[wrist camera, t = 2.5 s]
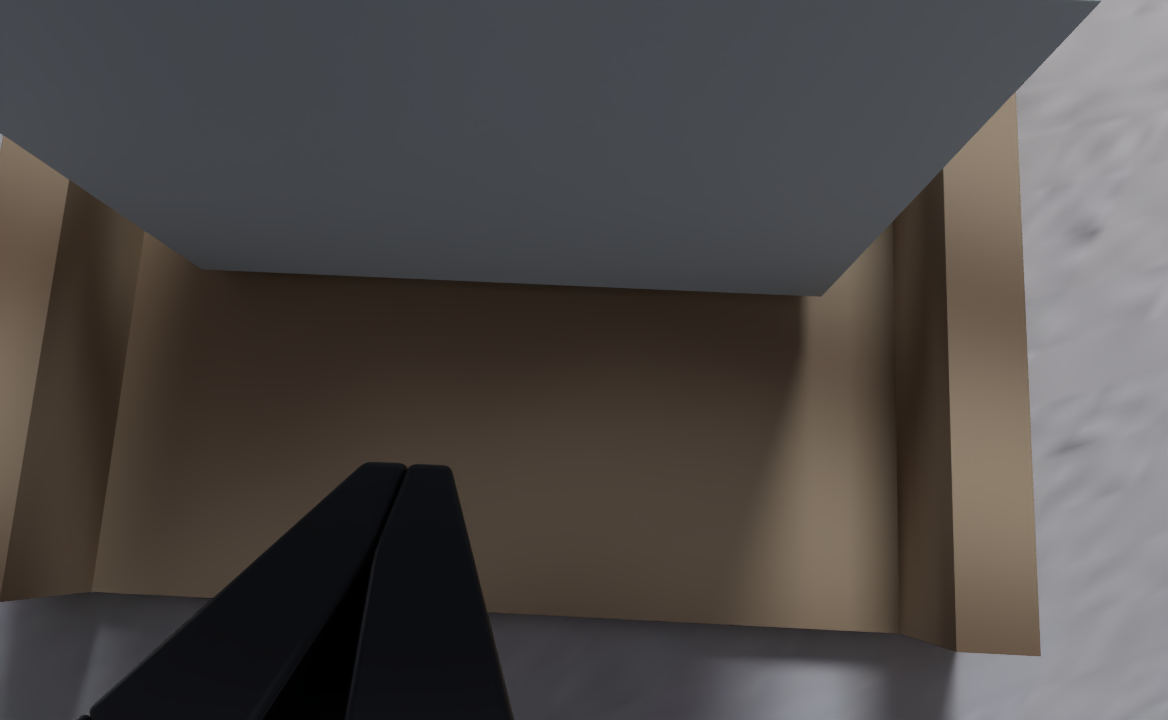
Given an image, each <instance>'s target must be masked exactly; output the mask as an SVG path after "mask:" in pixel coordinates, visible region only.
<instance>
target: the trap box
mask: <svg viewBox="0 0 1168 720" xmlns="http://www.w3.org/2000/svg"><path fill="white" fill-rule="evenodd" d="M366 462H391V463H402V464H404V465H405V466H406V467H407V468H409V467H410V466H411V465H413V464H431V465H446V466H449V467H450V468H451V470H452V472H453V475H454V479H455V484H456V488H457V492H458V496H459V500H460V504H461V508H462V512H463V516H464V520H465V524H466V528H467V532H468V536H469V540H470V544H471V548H472V552H473V556H474V560H475V564H476V568H477V572H478V576H479V580H480V584H481V588H482V592H483V596H484V600H485V604H486V609H487V612H492V613H511V614H531V615H550V616H570V617H589V618H608V619H628V620H647V621H666V622H686V623H705V624H724V625H744V626H763V627H783V628H802V629H821V630H841V631H860V632H879V633H899V634H903V635H906V636H909V637H912V638H915V639H918V640H921V641H924V642H928V643H931V644H934V645H937V646H940V647H943V648H946V649H949V650H952V651H956V652H969V653H989V654H1008V655H1027V656H1041V652H1040V630H1039V607H1038V585H1037V562H1036V539H1035V517H1034V494H1033V471H1032V449H1031V426H1030V404H1029V381H1028V358H1027V336H1026V313H1025V290H1024V268H1023V245H1022V223H1021V200H1020V177H1019V155H1018V132H1017V110H1016V92H1015V93H1014V94H1013V95H1012V96H1011V97H1010V98H1009V99H1008V100H1007V101H1006V102H1005V103H1004V104H1003V105H1002V106H1001V108H1000V109H999V110H998V111H997V112H996V113H995V114H994V115H993V116H992V117H991V118H990V119H989V120H988V121H987V122H986V123H985V124H984V125H983V127H982V128H981V129H980V130H979V131H978V132H977V133H976V134H975V135H974V136H973V137H972V138H971V139H970V140H969V141H968V142H967V143H966V145H965V146H964V147H963V148H962V149H961V150H960V151H959V152H958V153H957V154H956V155H955V156H954V157H953V158H952V159H951V160H950V161H949V162H948V164H947V165H946V166H945V167H944V168H943V169H942V170H941V171H940V172H939V173H938V174H937V175H936V176H935V177H934V178H933V179H932V180H931V181H930V183H929V184H928V185H927V186H926V187H925V188H924V189H923V190H922V191H921V192H920V193H919V194H918V195H917V196H916V197H915V198H914V199H913V200H912V202H911V203H910V204H909V205H908V206H907V207H906V208H905V209H904V210H903V211H902V212H901V213H900V214H899V215H898V216H897V217H896V218H895V219H894V221H893V222H892V223H891V224H890V225H889V226H888V227H887V228H886V229H885V230H884V231H883V232H882V233H881V234H880V235H879V236H878V237H877V239H876V240H875V241H874V242H873V243H872V244H871V245H870V246H869V247H868V248H867V249H866V250H865V251H864V252H863V253H862V254H861V255H860V256H859V258H858V259H857V260H856V261H855V262H854V263H853V264H852V265H851V266H850V267H849V268H848V269H847V270H846V271H845V272H844V273H843V274H842V275H841V277H840V278H839V279H838V280H837V281H836V282H835V283H834V284H833V285H832V286H831V287H830V288H829V289H828V290H827V291H826V292H825V293H824V294H823V296H822V297H816V296H793V295H771V294H748V293H725V292H703V291H680V290H657V289H634V288H612V287H589V286H566V285H544V284H521V283H498V282H476V281H453V280H430V279H407V278H385V277H362V276H339V275H317V274H294V273H271V272H248V271H226V270H203V269H200V268H199V267H197V266H196V265H194V264H193V263H191V262H190V261H188V260H187V259H186V258H184V257H183V256H181V255H180V254H178V253H177V252H175V251H174V250H172V249H171V248H169V247H168V246H166V245H165V244H163V243H162V242H160V241H159V240H157V239H156V238H155V237H153V236H152V235H150V234H149V233H147V232H146V231H144V230H143V229H141V228H140V227H138V226H137V225H135V224H134V223H132V222H131V221H129V220H128V219H126V218H125V217H124V216H122V215H121V214H119V213H118V212H116V211H115V210H113V209H112V208H110V207H109V206H107V205H106V204H104V203H103V202H101V201H100V200H98V199H97V198H95V197H94V196H92V195H91V194H90V193H88V192H87V191H85V190H84V189H82V188H81V187H79V186H78V185H76V184H75V183H73V182H72V181H70V180H69V179H67V178H66V177H64V176H63V175H61V174H60V173H59V172H57V171H56V170H54V169H53V168H51V167H50V166H48V165H47V164H45V163H44V162H42V161H41V160H39V159H38V158H36V157H35V156H33V155H32V154H30V153H29V152H28V151H26V150H25V149H23V148H22V147H20V146H19V145H17V144H16V143H14V142H13V141H11V140H10V139H8V138H7V137H5V136H4V135H3V139H2V145H1V150H0V602H4V601H13V600H22V599H31V598H40V597H49V596H58V595H67V594H76V593H85V592H105V593H124V594H144V595H163V596H182V597H202V598H213V597H214V596H216V595H217V594H218V593H219V592H220V591H221V590H222V589H223V588H225V587H226V586H227V585H228V584H229V583H230V582H231V581H232V580H233V579H235V578H236V577H237V576H238V575H239V574H240V573H241V572H242V571H243V570H245V569H246V568H247V567H248V566H249V565H250V564H251V563H252V562H253V561H255V560H256V559H257V558H258V557H259V556H260V555H261V554H262V553H264V552H265V551H266V550H267V549H268V548H269V547H270V546H271V545H272V544H274V543H275V542H276V541H277V540H278V539H279V538H280V537H281V536H282V535H284V534H285V533H286V532H287V531H288V530H289V529H290V528H291V527H292V526H294V525H295V524H296V523H297V522H298V521H299V520H300V519H301V518H303V517H304V516H305V515H306V514H307V513H308V512H309V511H310V510H311V509H313V508H314V507H315V506H316V505H317V504H318V503H319V502H320V501H321V500H323V499H324V498H325V497H326V496H327V495H328V494H329V493H330V492H332V491H333V490H334V489H335V488H336V487H337V486H338V485H339V484H340V483H342V482H343V481H344V480H345V479H346V478H347V477H348V476H349V475H350V474H352V473H353V472H354V471H355V470H356V469H357V468H358V467H359V466H361V465H362V464H364V463H366Z"/></svg>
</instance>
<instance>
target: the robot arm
mask: <svg viewBox="0 0 1168 720" xmlns="http://www.w3.org/2000/svg"><path fill="white" fill-rule="evenodd" d="M77 720H514V717H513V713H512V709H511V705H510V701H509V697H508V693H507V689H506V685H505V681H504V677H503V673H502V669H501V665H500V661H499V657H498V653H497V649H496V645H495V641H494V637H493V633H492V629H491V625H490V621H489V617H488V613H487V609H486V604H485V600H484V596H483V592H482V588H481V584H480V580H479V576H478V572H477V568H476V564H475V560H474V556H473V552H472V548H471V544H470V540H469V536H468V532H467V528H466V524H465V520H464V516H463V512H462V508H461V504H460V500H459V496H458V492H457V488H456V484H455V479H454V475H453V472H452V470H451V468H450V467H449V466H446V465H431V464H413V465H411V466H410V467H409V468H407V467H406V466H405V465H404V464H402V463H391V462H366V463H364V464H362V465H361V466H359V467H358V468H357V469H356V470H355V471H354V472H353V473H352V474H350V475H349V476H348V477H347V478H346V479H345V480H344V481H343V482H342V483H340V484H339V485H338V486H337V487H336V488H335V489H334V490H333V491H332V492H330V493H329V494H328V495H327V496H326V497H325V498H324V499H323V500H321V501H320V502H319V503H318V504H317V505H316V506H315V507H314V508H313V509H311V510H310V511H309V512H308V513H307V514H306V515H305V516H304V517H303V518H301V519H300V520H299V521H298V522H297V523H296V524H295V525H294V526H292V527H291V528H290V529H289V530H288V531H287V532H286V533H285V534H284V535H282V536H281V537H280V538H279V539H278V540H277V541H276V542H275V543H274V544H272V545H271V546H270V547H269V548H268V549H267V550H266V551H265V552H264V553H262V554H261V555H260V556H259V557H258V558H257V559H256V560H255V561H253V562H252V563H251V564H250V565H249V566H248V567H247V568H246V569H245V570H243V571H242V572H241V573H240V574H239V575H238V576H237V577H236V578H235V579H233V580H232V581H231V582H230V583H229V584H228V585H227V586H226V587H225V588H223V589H222V590H221V591H220V592H219V593H218V594H217V595H216V596H214V597H213V598H212V599H211V600H210V601H209V602H208V603H207V604H206V605H204V606H203V607H202V608H201V609H200V610H199V611H198V612H197V613H196V614H194V615H193V616H192V617H191V618H190V619H189V620H188V621H187V622H186V623H184V624H183V625H182V626H181V627H180V628H179V629H178V630H177V631H175V632H174V633H173V634H172V635H171V636H170V637H169V638H168V639H167V640H165V641H164V642H163V643H162V644H161V645H160V646H159V647H158V648H157V649H155V650H154V651H153V652H152V653H151V654H150V655H149V656H148V657H147V658H145V659H144V660H143V661H142V662H141V663H140V664H139V665H138V666H136V667H135V668H134V669H133V670H132V671H131V672H130V673H129V674H128V675H126V676H125V677H124V678H123V679H122V680H121V681H120V682H119V683H118V684H116V685H115V686H114V687H113V688H112V689H111V690H110V691H109V692H108V693H106V694H105V695H104V696H103V697H102V698H101V699H100V700H99V701H97V702H96V703H95V704H94V705H93V706H92V707H91V709H90V716H88V715H82V716H80V717H79V718H78V719H77Z"/></svg>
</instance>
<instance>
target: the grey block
mask: <svg viewBox="0 0 1168 720" xmlns="http://www.w3.org/2000/svg"><path fill="white" fill-rule="evenodd" d="M1100 2H1101V0H0V133H1V134H2V135H4V136H5V137H7V138H8V139H10V140H11V141H13V142H14V143H16V144H17V145H19V146H20V147H22V148H23V149H25V150H26V151H28V152H29V153H30V154H32V155H33V156H35V157H36V158H38V159H39V160H41V161H42V162H44V163H45V164H47V165H48V166H50V167H51V168H53V169H54V170H56V171H57V172H59V173H60V174H61V175H63V176H64V177H66V178H67V179H69V180H70V181H72V182H73V183H75V184H76V185H78V186H79V187H81V188H82V189H84V190H85V191H87V192H88V193H90V194H91V195H92V196H94V197H95V198H97V199H98V200H100V201H101V202H103V203H104V204H106V205H107V206H109V207H110V208H112V209H113V210H115V211H116V212H118V213H119V214H121V215H122V216H124V217H125V218H126V219H128V220H129V221H131V222H132V223H134V224H135V225H137V226H138V227H140V228H141V229H143V230H144V231H146V232H147V233H149V234H150V235H152V236H153V237H155V238H156V239H157V240H159V241H160V242H162V243H163V244H165V245H166V246H168V247H169V248H171V249H172V250H174V251H175V252H177V253H178V254H180V255H181V256H183V257H184V258H186V259H187V260H188V261H190V262H191V263H193V264H194V265H196V266H197V267H199V268H200V269H203V270H226V271H248V272H271V273H294V274H317V275H339V276H362V277H385V278H407V279H430V280H453V281H476V282H498V283H521V284H544V285H566V286H589V287H612V288H634V289H657V290H680V291H703V292H725V293H748V294H771V295H793V296H816V297H822V296H823V294H824V293H825V292H826V291H827V290H828V289H829V288H830V287H831V286H832V285H833V284H834V283H835V282H836V281H837V280H838V279H839V278H840V277H841V275H842V274H843V273H844V272H845V271H846V270H847V269H848V268H849V267H850V266H851V265H852V264H853V263H854V262H855V261H856V260H857V259H858V258H859V256H860V255H861V254H862V253H863V252H864V251H865V250H866V249H867V248H868V247H869V246H870V245H871V244H872V243H873V242H874V241H875V240H876V239H877V237H878V236H879V235H880V234H881V233H882V232H883V231H884V230H885V229H886V228H887V227H888V226H889V225H890V224H891V223H892V222H893V221H894V219H895V218H896V217H897V216H898V215H899V214H900V213H901V212H902V211H903V210H904V209H905V208H906V207H907V206H908V205H909V204H910V203H911V202H912V200H913V199H914V198H915V197H916V196H917V195H918V194H919V193H920V192H921V191H922V190H923V189H924V188H925V187H926V186H927V185H928V184H929V183H930V181H931V180H932V179H933V178H934V177H935V176H936V175H937V174H938V173H939V172H940V171H941V170H942V169H943V168H944V167H945V166H946V165H947V164H948V162H949V161H950V160H951V159H952V158H953V157H954V156H955V155H956V154H957V153H958V152H959V151H960V150H961V149H962V148H963V147H964V146H965V145H966V143H967V142H968V141H969V140H970V139H971V138H972V137H973V136H974V135H975V134H976V133H977V132H978V131H979V130H980V129H981V128H982V127H983V125H984V124H985V123H986V122H987V121H988V120H989V119H990V118H991V117H992V116H993V115H994V114H995V113H996V112H997V111H998V110H999V109H1000V108H1001V106H1002V105H1003V104H1004V103H1005V102H1006V101H1007V100H1008V99H1009V98H1010V97H1011V96H1012V95H1013V94H1014V93H1015V92H1016V91H1017V90H1018V89H1019V87H1020V86H1021V85H1022V84H1023V83H1024V82H1025V81H1026V80H1027V79H1028V78H1029V77H1030V76H1031V75H1032V74H1033V73H1034V72H1035V71H1036V70H1037V68H1038V67H1039V66H1040V65H1041V64H1042V63H1043V62H1044V61H1045V60H1046V59H1047V58H1048V57H1049V56H1050V55H1051V54H1052V53H1053V52H1054V51H1055V49H1056V48H1057V47H1058V46H1059V45H1060V44H1061V43H1062V42H1063V41H1064V40H1065V39H1066V38H1067V37H1068V36H1069V35H1070V34H1071V33H1072V31H1073V30H1074V29H1075V28H1076V27H1077V26H1078V25H1079V24H1080V23H1081V22H1082V21H1083V20H1084V19H1085V18H1086V17H1087V16H1088V15H1089V14H1090V12H1091V11H1092V10H1093V9H1094V8H1095V7H1096V6H1097V5H1098V4H1099V3H1100Z"/></svg>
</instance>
